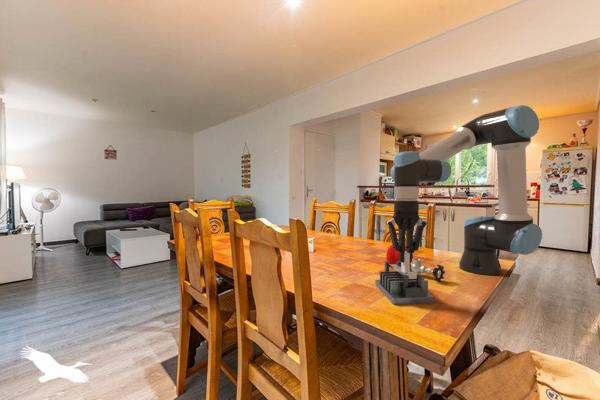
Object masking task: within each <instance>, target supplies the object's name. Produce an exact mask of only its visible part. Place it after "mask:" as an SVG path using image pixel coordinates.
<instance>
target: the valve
mask: <svg viewBox="0 0 600 400" xmlns="http://www.w3.org/2000/svg"><path fill="white" fill-rule="evenodd" d="M444 268H445V267H444V266H443V265H442V264H437V266H436V267H434V269H432V268H429V267H427V265H422V259H420V258H414V257H413V259H412V262H411V266H410V269H411V271H414V272H417V274H420V275H421V276H422V274H426V273H427V274H432V276H433V277H434V278H433V281H435V282H437V283H441V281H442V280H444V279H445V277H444V275H445V274H446V272H445V270H444Z"/></svg>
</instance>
